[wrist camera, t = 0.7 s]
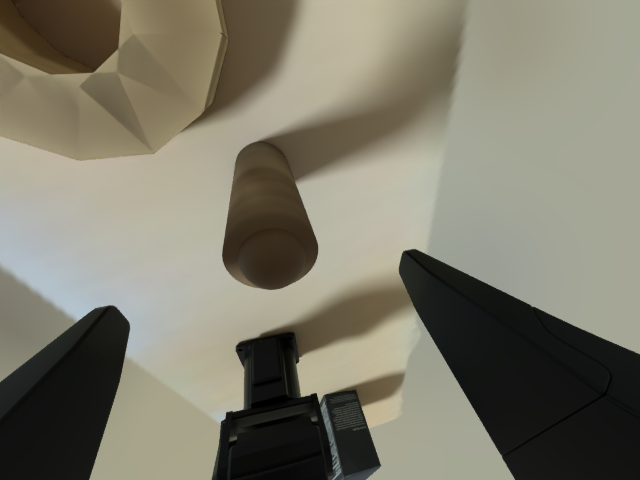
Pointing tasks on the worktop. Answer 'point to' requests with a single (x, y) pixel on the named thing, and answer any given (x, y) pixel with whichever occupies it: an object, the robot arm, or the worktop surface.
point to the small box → (348, 437)
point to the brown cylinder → (267, 222)
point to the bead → (112, 81)
